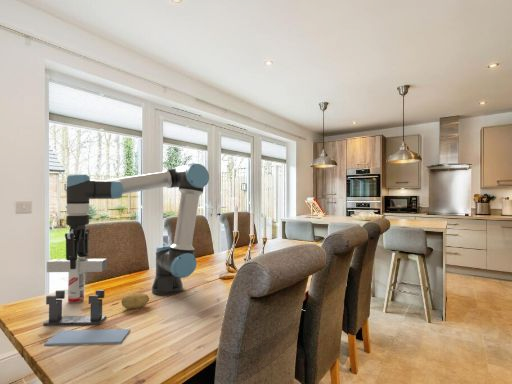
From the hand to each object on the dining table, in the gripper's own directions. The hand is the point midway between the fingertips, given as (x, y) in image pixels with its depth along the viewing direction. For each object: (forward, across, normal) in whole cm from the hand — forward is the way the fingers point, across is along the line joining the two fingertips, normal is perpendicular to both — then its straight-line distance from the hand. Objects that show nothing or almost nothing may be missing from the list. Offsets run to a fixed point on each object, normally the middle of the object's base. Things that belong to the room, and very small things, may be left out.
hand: (77, 275), depth 113 cm
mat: (+18, +13, +11) cm, 25 cm away
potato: (+18, -13, +18) cm, 28 cm away
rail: (-2, 0, 0) cm, 2 cm away
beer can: (+18, -22, -11) cm, 30 cm away
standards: (+18, 0, 0) cm, 18 cm away
